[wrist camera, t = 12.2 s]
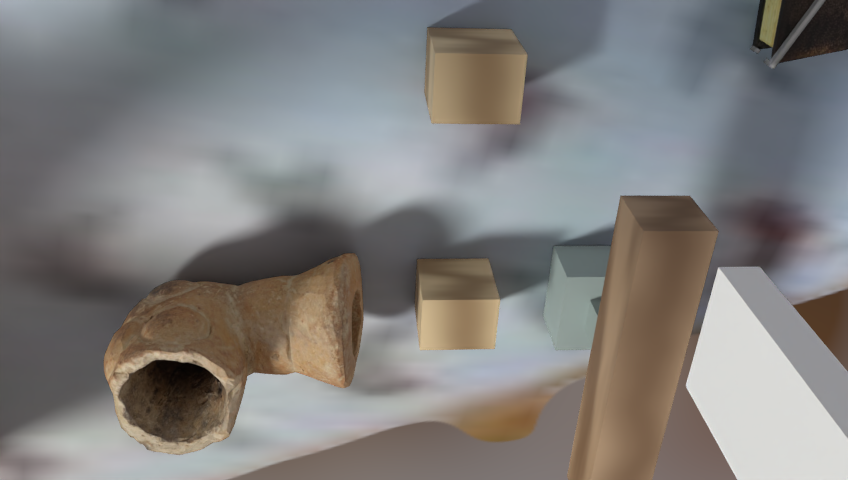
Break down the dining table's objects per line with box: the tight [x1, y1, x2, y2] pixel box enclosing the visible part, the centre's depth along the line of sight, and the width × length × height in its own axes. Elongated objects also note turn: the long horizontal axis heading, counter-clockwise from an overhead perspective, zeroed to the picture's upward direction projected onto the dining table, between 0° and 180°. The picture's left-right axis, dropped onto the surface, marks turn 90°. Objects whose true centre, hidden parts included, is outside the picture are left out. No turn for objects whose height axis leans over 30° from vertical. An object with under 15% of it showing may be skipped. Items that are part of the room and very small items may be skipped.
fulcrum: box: [543, 246, 611, 350], centre depth 53 cm, size 6×6×8 cm
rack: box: [415, 27, 527, 350], centre depth 49 cm, size 5×20×5 cm, turn 178°
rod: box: [567, 196, 718, 480], centre depth 48 cm, size 4×22×4 cm, turn 178°
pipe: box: [104, 253, 363, 455], centre depth 51 cm, size 9×16×10 cm, turn 99°
